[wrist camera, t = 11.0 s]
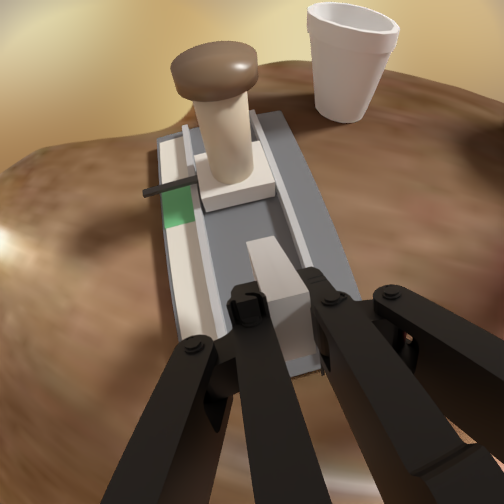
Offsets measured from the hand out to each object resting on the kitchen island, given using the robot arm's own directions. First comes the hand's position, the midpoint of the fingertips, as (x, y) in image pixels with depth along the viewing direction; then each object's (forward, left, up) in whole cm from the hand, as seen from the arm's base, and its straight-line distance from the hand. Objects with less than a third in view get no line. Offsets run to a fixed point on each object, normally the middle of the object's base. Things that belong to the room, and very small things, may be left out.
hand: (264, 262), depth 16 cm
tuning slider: (+3, -11, -6) cm, 13 cm away
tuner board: (0, -7, -8) cm, 11 cm away
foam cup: (-15, -21, -8) cm, 27 cm away
